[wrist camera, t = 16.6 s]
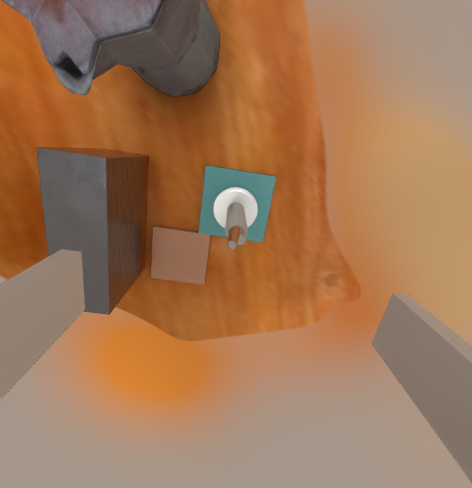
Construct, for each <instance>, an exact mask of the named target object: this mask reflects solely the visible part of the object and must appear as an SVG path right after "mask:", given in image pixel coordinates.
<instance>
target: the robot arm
mask: <svg viewBox="0 0 472 488" xmlns="http://www.w3.org/2000/svg"><path fill="white" fill-rule="evenodd" d="M84 310H85V300H84V284H83V268H82V252H79V251H72V250H64V249H61V250H59V251H58V252H56V253H54V254H52V255H51V256H49V257H47V258H45V259H44V260H42V261H40V262H38V263H37V264H35V265H33V266H31V267H30V268H28V269H26V270H24V271H23V272H21V273H19V274H17V275H16V276H14V277H12V278H10V279H9V280H7V281H5V282H3V283H2V284H0V400H1V399H2V398H3V397H4V396H5V395H6V394H7V393H8V392H9V390H10V389H11V388H12V387H13V386H14V385H15V384H16V383H17V382H18V381H19V380H20V379H21V378H22V377H23V375H24V374H25V373H26V372H27V371H28V370H29V369H30V368H31V367H32V366H33V365H34V364H35V363H36V361H38V359H39V358H40V357H41V356H42V355H43V354H44V353H45V352H46V351H47V350H48V349H49V348H50V347H51V346H52V344H53V343H54V342H55V341H56V340H57V339H58V338H59V337H60V336H61V335H62V334H63V333H64V332H65V331H66V330H67V328H68V327H69V326H70V325H71V324H72V323H73V322H74V321H75V320H76V319H77V318H78V316H79V315H81V313H82V312H83V311H84ZM372 345H373V347H374V348H375V349H376V351H377V352H378V353H379V355H380V356H381V358H382V359H383V360H384V362H385V363H386V365H387V366H388V367H389V369H390V370H391V371H392V373H393V374H394V376H395V377H396V378H397V380H398V381H399V382H400V384H401V385H402V387H403V388H404V389H405V391H406V392H407V394H408V395H409V396H410V398H411V399H412V401H413V402H414V403H415V405H416V406H417V407H418V409H419V410H420V412H421V413H422V415H423V416H424V417H425V419H426V420H427V421H428V423H429V424H430V426H431V427H432V428H433V430H434V431H435V432H436V434H437V435H438V437H439V438H440V440H441V441H442V442H443V444H444V445H445V446H446V448H447V449H448V451H449V452H450V453H451V455H452V456H453V458H454V459H455V460H456V462H457V463H458V464H459V466H460V467H461V468H462V470H463V471H464V473H465V474H466V476H467V477H468V478H469V480H470V481H471V482H472V346H471V345H470V344H468V343H467V342H466V341H465V340H464V339H462V338H461V337H460V336H458V335H457V334H456V333H455V332H454V331H452V330H451V329H450V328H449V327H448V326H446V325H445V324H444V323H443V322H441V321H440V320H439V319H438V318H437V317H435V316H434V315H433V314H432V313H430V312H429V311H428V310H427V309H426V308H424V307H423V306H422V305H420V304H419V303H418V302H417V301H416V300H415V299H413V298H412V297H411V296H409V295H403V294H395V293H393V294H392V296H391V299H390V301H389V303H388V306H387V308H386V310H385V313H384V315H383V317H382V320H381V322H380V324H379V327H378V329H377V332H376V334H375V336H374V339H373V341H372Z"/></svg>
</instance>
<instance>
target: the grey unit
mask: <svg viewBox="0 0 472 488" xmlns="http://www.w3.org/2000/svg"><path fill="white" fill-rule="evenodd" d="M36 150H37V159H38V168H39V177H40V186H41V195H42V204H43V213H44V222H45V231H46V239H47V248H48V257H49V256H51V255H52V254H54V253H56V252H58V251H59V250H61V249H64V250H72V251H79V252H82V268H83V284H84V300H85V310H84V312H93V313H101V314H110V313H111V312H112V310H113V309H114V308H115V307H116V305H117V304H118V303H119V301H120V300H121V299H122V297H123V296H124V295H125V293H126V292H127V291H128V289H129V288H130V287H131V286H132V284H133V283H134V282H135V280H136V279H137V278H138V276H139V275H140V274H141V272H142V271H143V270H144V268H145V247H146V216H147V185H148V156H145V155H139V154H133V153H126V152H120V151H114V150H108V149H93V148H49V147H36Z"/></svg>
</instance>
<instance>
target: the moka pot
mask: <svg viewBox="0 0 472 488" xmlns="http://www.w3.org/2000/svg"><path fill="white" fill-rule="evenodd" d="M2 1H3V2H5V3H6V4H8V5H9V6H11V7H12V8H14V9H15V10H17V11H18V12H20V13H21V14H22V15H23V16H25V17H26V18H27V19H28V20H30V21H31V22H32V25H33V27H34V29H35V32H36V34H37V37H38V39H39V42H40V45H41V47H42V50H43V53H44V55H45V58H46V59H47V61H48V62H49V63H50V64H51V66H52V68H53V70H54V72H55V74H56V76H57V78H58V79H59V81H60V82H61V83H62V84H63V85H64V86H65V87H66V88H67V89H68V90H69V91H70V92H72V93H74V94H81V95H86V94H87V93H88V92H89V90H90V87H91V84H92V80H94V79H95V78H96V77H98V76H100V75H102V74H103V73H105V72H106V71H108V70H109V69H111V68H112V67H114V66H115V65H117V64H121V65H125V66H128V67H132V69H133V70H134V71H135V72H137V73H138V75H139V76H140V77H141V78H142V79H143V80H144V81H145V82H146V83H148V84H149V85H151V86H152V87H154V88H155V89H157V90H159V91H161V92H163V93H165V94H167V95H169V96H173V97H174V96H183V95H188V94H191V93H194V92H197V91H199V90H200V89H201V88H202V87H203V86H204V85H205V83H206V82H207V81H208V80H209V79H210V77H211V76H212V74H213V73H214V72H215V70H216V68H217V63H218V54H219V45H220V33H219V30H218V28H217V25H216V23H215V21H214V18H213V16H212V14H211V12H210V10H209V8H208V5H207V3H206V1H205V0H2Z"/></svg>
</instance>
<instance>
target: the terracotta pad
mask: <svg viewBox="0 0 472 488" xmlns="http://www.w3.org/2000/svg"><path fill="white" fill-rule="evenodd" d="M210 238H211V235H207V234H200V233H198V232H197V231H190V230H183V229H176V228H169V227H162V226H155V225H154V226H153V238H152V262H151V278H155V279H163V280H171V281H178V282H186V283H194V284H201V285H204V284H205V278H206V270H207V262H208V254H209V246H210Z"/></svg>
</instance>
